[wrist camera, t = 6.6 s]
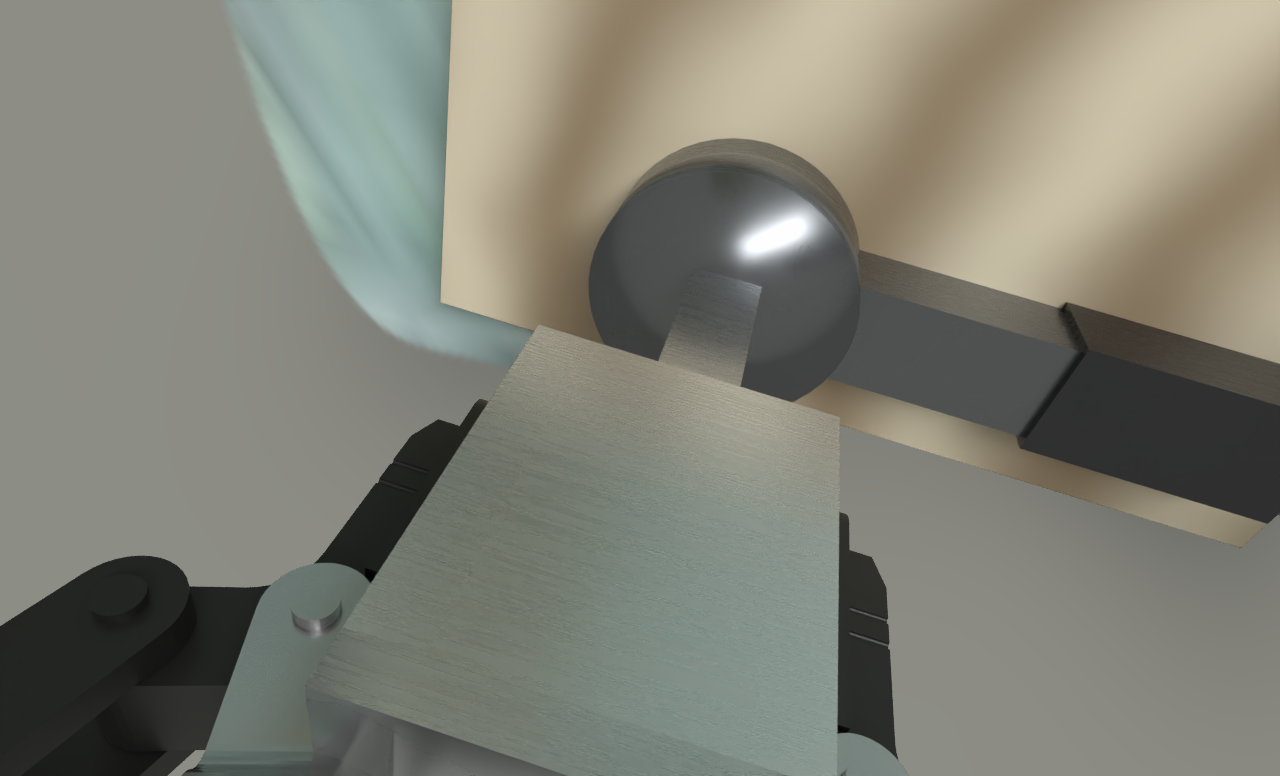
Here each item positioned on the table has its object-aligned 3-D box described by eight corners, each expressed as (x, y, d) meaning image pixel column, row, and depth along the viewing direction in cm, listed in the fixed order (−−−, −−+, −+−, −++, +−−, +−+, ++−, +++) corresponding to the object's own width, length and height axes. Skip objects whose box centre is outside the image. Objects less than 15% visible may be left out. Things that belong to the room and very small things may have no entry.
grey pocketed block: (839, 417, 11) (836, 866, 6) (746, 603, 14) (694, 1010, 9) (538, 324, 11) (303, 687, 6) (508, 526, 14) (331, 883, 9)
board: (1896, -137, 12) (1984, -136, 11) (1224, 517, 22) (1240, 547, 21) (498, -466, 13) (471, -490, 13) (457, 284, 23) (440, 301, 22)
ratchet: (1397, 322, 16) (1660, 547, 11) (1206, 512, 20) (1332, 748, 15) (639, 106, 18) (545, 216, 12) (596, 326, 22) (510, 483, 16)
